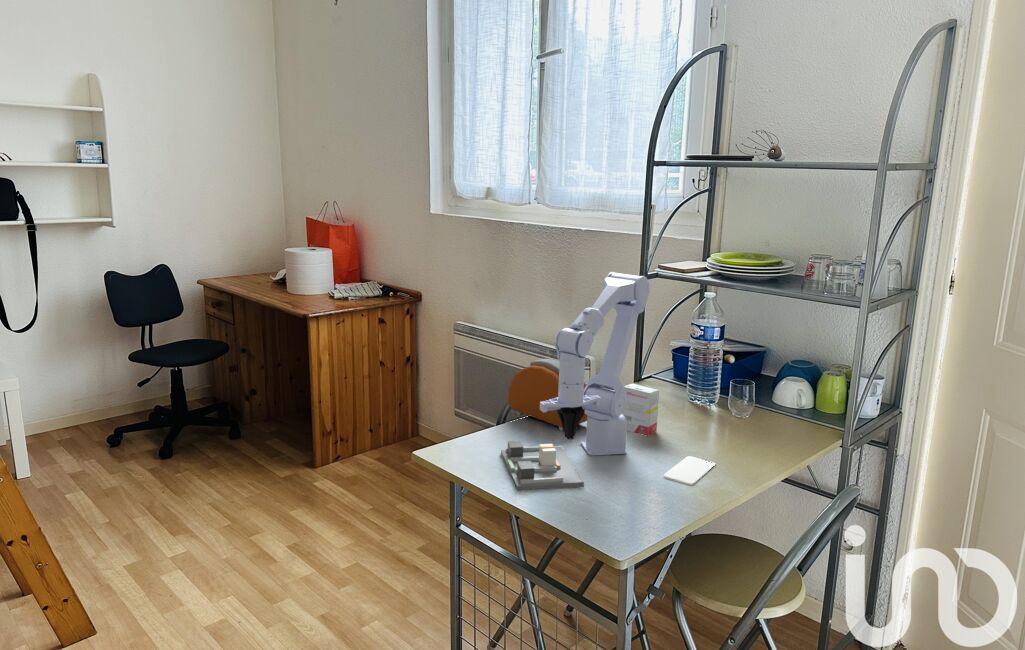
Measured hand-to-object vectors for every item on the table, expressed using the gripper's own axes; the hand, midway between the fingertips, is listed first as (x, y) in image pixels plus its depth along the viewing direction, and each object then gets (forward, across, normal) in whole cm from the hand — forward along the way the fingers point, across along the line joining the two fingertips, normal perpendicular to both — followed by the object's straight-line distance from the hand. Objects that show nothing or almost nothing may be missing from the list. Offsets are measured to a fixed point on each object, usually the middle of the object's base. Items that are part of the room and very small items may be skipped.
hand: (568, 437), depth 174 cm
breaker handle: (+6, +5, -1) cm, 8 cm away
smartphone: (+8, -26, +11) cm, 30 cm away
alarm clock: (+8, -10, -31) cm, 33 cm away
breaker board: (+8, +6, -1) cm, 10 cm away
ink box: (+8, -29, -15) cm, 34 cm away
